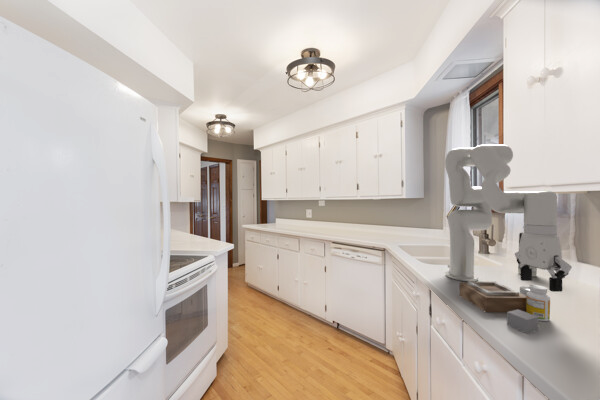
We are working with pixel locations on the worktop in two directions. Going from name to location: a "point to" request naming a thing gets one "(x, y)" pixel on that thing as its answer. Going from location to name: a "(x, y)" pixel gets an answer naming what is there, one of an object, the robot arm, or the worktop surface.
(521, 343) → the worktop surface
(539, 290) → the supplement bottle
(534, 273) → the spray can
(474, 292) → the walnut stand
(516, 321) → the grey rubber block
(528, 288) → the metal tin
